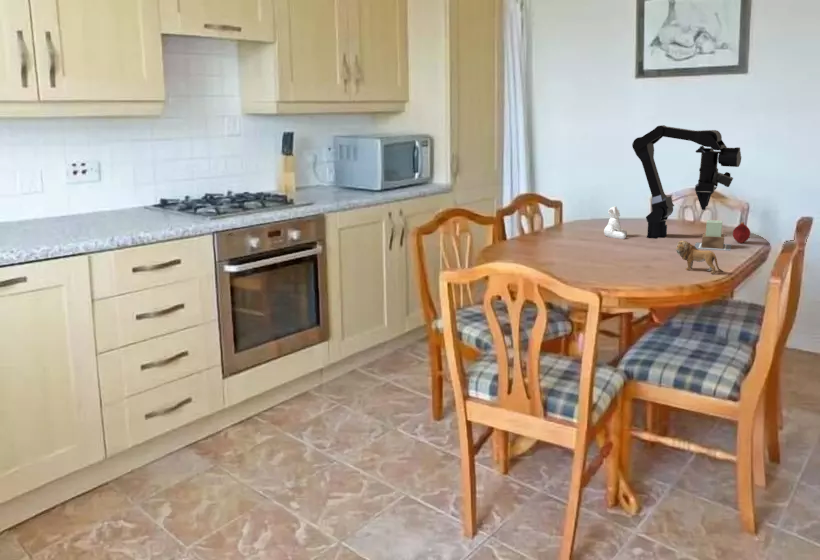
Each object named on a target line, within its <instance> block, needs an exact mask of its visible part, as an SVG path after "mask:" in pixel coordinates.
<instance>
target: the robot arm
mask: <svg viewBox="0 0 820 560" xmlns="http://www.w3.org/2000/svg"><path fill="white" fill-rule="evenodd" d="M662 138H670V139H677V140H683V141H691V142H693V143H695V144H697V145H699V148H698V149H696V150H695V153H697V154H700V153H701V155H700V166H699V171H698V172H699V177H698V183H696V185H695V186H694V187H695V188H694V192H695V194H696V196H697V200H698V203H699V205H700V208H701V211H706V209H707V207H709V204H710V199H711V197H712V194H714V192H715V190H716V189H717V188H718V186H719V184H720V185H723V186H725V187H726V188H730V186H731V184H732V182H733V180H734V177H732V176H731V172H727V171H726V172H724V173H721V172H719V168H718V164H719V165H720V166H721V167H730V168H739V167H740V166H741V162H742V154H741V153H742V152H741V147H740V146H739V147H728V146H727V145H726V144H725V142H724V141H723V139H722V133H720V131H719V130H716V129H707V130H705V129H702V130H693V129H687V128H680V127H672V126H667V125H663V124H662V125H658V126H656V127H654V128H653V129H652V130H650V131H649V132H647V133H646V134H644V135H643V136H639V137H636V138H635V139H634V140H633V142H632V147H631V148H632V149H633V151H634V153H635V155H636V157H637V158H638V159H639V160H640V162H641V164H642V168H643V172H644V175H645V178H646V181H647V184H648V187H649V190H650V194H651V209H652V210H651V212H650V213H649V214H647V215H646V216H645V219H646V222H647V235H646V238H649V239H650V238H651V239H658V238H659V239H661V238H662V239H664V238H665V237H667V235H668V234H667V233H668V224H667V221H668V218H669V216H671V215H672V214H673V212H674V207H675V204H674V203H673V200H672V199H673V198H672V196H671V195H670V196H667V195H666V193H665V191H664V188H663V185H662V181H661V179H660V175H659V171H658V168H657V165H656V161H655V158H654V157H655V147H654V145H655V144H656V143H658V142H659V141H660V140H661V139H662Z"/></svg>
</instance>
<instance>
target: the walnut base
mask: <svg viewBox="0 0 820 560" xmlns="http://www.w3.org/2000/svg"><path fill="white" fill-rule="evenodd" d="M701 243H702V248H716V249H723V246H724V244H725V233H724V234H723V233H721V237H710V236H706V232H704V233H703V234H702V239H701Z"/></svg>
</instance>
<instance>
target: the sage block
mask: <svg viewBox="0 0 820 560" xmlns="http://www.w3.org/2000/svg"><path fill="white" fill-rule="evenodd" d="M705 225H706V226H705V233H706V236H710V237H721V234H723V233H722V231H723V220H717V219H716V220H711V219H707V220H706V224H705Z"/></svg>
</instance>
